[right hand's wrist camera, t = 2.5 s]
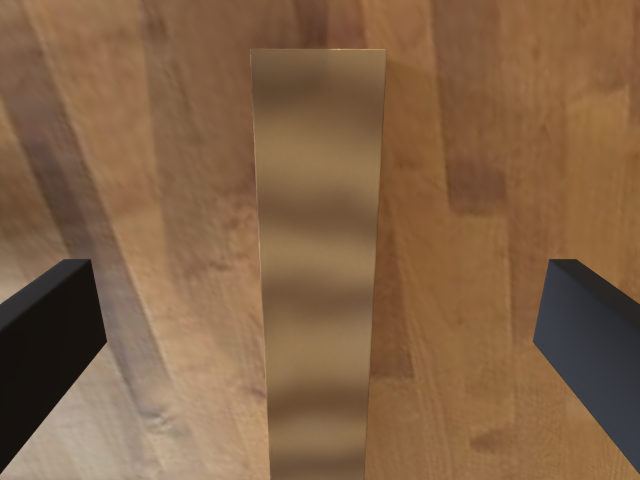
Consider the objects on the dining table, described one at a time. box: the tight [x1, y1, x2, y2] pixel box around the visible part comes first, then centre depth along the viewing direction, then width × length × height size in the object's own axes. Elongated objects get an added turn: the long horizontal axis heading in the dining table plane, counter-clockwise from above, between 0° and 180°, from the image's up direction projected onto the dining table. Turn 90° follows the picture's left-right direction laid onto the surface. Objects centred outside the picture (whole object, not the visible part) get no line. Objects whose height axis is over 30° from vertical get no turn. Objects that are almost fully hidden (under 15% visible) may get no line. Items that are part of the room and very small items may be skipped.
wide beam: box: [250, 49, 387, 480], centre depth 40 cm, size 54×9×7 cm, turn 0°
